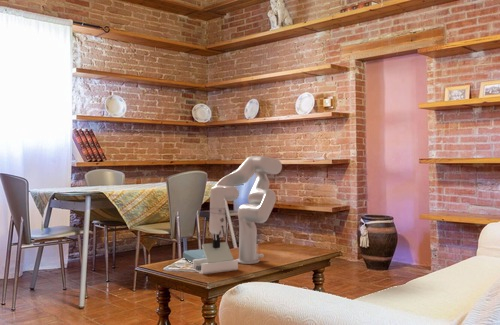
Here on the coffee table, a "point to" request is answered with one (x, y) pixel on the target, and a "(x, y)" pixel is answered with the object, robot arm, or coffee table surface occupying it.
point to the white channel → (214, 266)
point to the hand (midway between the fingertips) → (216, 247)
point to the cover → (217, 253)
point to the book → (194, 254)
